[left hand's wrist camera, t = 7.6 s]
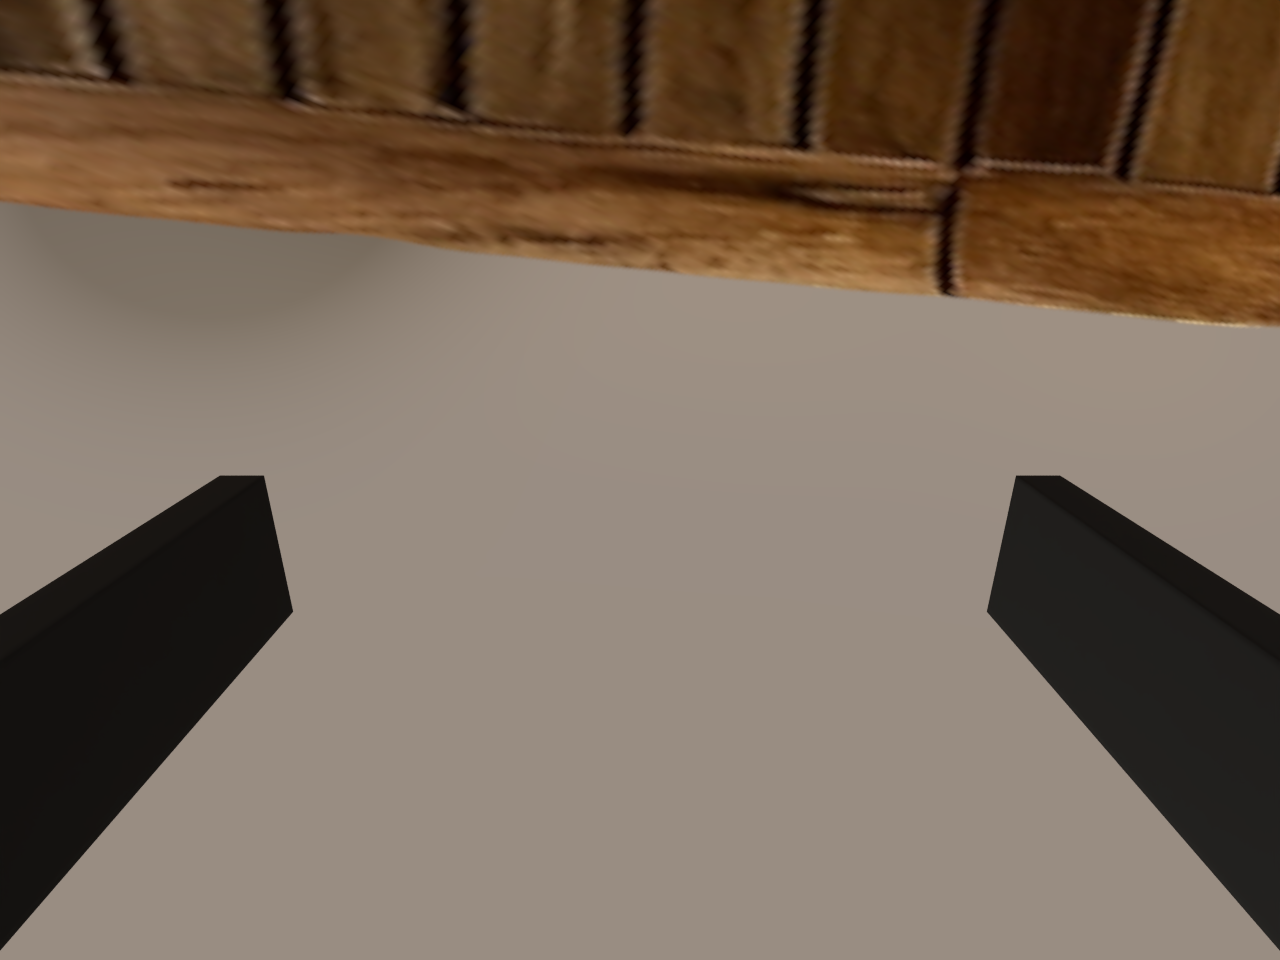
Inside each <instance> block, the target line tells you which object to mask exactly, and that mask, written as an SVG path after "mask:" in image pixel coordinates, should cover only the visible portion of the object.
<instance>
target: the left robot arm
mask: <svg viewBox="0 0 1280 960" xmlns="http://www.w3.org/2000/svg"><path fill="white" fill-rule="evenodd" d="M292 612H293V609H292V604H291V600H290V595H289V590H288V586H287V581H286V576H285V572H284V567H283V562H282V558H281V553H280V548H279V544H278V539H277V534H276V530H275V525H274V521H273V516H272V511H271V507H270V502H269V497H268V492H267V488H266V483H265V479H264V476H219V477H217V478H215V479H214V480H212V481H211V482H209V483H208V484H206V485H204V486H203V487H201V488H200V489H198V490H197V491H195V492H193V493H192V494H190V495H189V496H187V497H185V498H184V499H182V500H181V501H179V502H178V503H176V504H174V505H173V506H171V507H170V508H168V509H166V510H165V511H163V512H162V513H160V514H159V515H157V516H155V517H154V518H152V519H151V520H149V521H147V522H146V523H144V524H143V525H141V526H140V527H138V528H136V529H135V530H133V531H132V532H130V533H128V534H127V535H125V536H124V537H122V538H121V539H119V540H117V541H116V542H114V543H113V544H111V545H109V546H108V547H106V548H105V549H103V550H102V551H100V552H98V553H97V554H95V555H94V556H92V557H90V558H89V559H87V560H86V561H84V562H83V563H81V564H79V565H78V566H76V567H75V568H73V569H71V570H70V571H68V572H67V573H65V574H64V575H62V576H60V577H59V578H57V579H56V580H54V581H52V582H51V583H49V584H48V585H46V586H45V587H43V588H41V589H40V590H38V591H37V592H35V593H34V594H32V595H30V596H29V597H27V598H26V599H24V600H22V601H21V602H19V603H18V604H16V605H14V606H13V607H11V608H10V609H8V610H7V611H5V612H3V613H2V614H0V950H1V949H2V948H3V947H4V945H5V944H6V943H7V942H8V941H9V940H10V939H11V937H12V936H13V935H14V934H15V933H16V932H17V930H18V929H19V928H20V927H21V926H22V925H23V923H24V922H25V921H26V920H27V919H28V918H29V917H30V915H31V914H32V913H33V912H34V911H35V910H36V908H37V907H38V906H39V905H40V904H41V903H42V902H43V900H44V899H45V898H46V897H47V896H48V895H49V893H50V892H51V891H52V890H53V889H54V888H55V886H56V885H57V884H58V883H59V882H60V881H61V880H62V878H63V877H64V876H65V875H66V874H67V873H68V871H69V870H70V869H71V868H72V867H73V866H74V865H75V863H76V862H77V861H78V860H79V859H80V858H81V856H82V855H83V854H84V853H85V852H86V851H87V849H88V848H89V847H90V846H91V845H92V844H93V843H94V841H95V840H96V839H97V838H98V837H99V836H100V834H101V833H102V832H103V831H104V830H105V829H106V827H107V826H108V825H109V824H110V823H111V822H112V821H113V819H114V818H115V817H116V816H117V815H118V814H119V812H120V811H121V810H122V809H123V808H124V807H125V806H126V804H127V803H128V802H129V801H130V800H131V799H132V797H133V796H134V795H135V794H136V793H137V792H138V790H139V789H140V788H141V787H142V786H143V785H144V784H145V782H146V781H147V780H148V779H149V778H150V777H151V775H152V774H153V773H154V772H155V771H156V770H157V768H158V767H159V766H160V765H161V764H162V763H163V762H164V760H165V759H166V758H167V757H168V756H169V755H170V753H171V752H172V751H173V750H174V749H175V748H176V747H177V745H178V744H179V743H180V742H181V741H182V740H183V738H184V737H185V736H186V735H187V734H188V733H189V731H190V730H191V729H192V728H193V727H194V726H195V725H196V723H197V722H198V721H199V720H200V719H201V718H202V716H203V715H204V714H205V713H206V712H207V711H208V709H209V708H210V707H211V706H212V705H213V704H214V702H215V701H216V700H217V699H218V698H219V697H220V696H221V694H222V693H223V692H224V691H225V690H226V689H227V687H228V686H229V685H230V684H231V683H232V682H233V681H234V679H235V678H236V677H237V676H238V675H239V674H240V672H241V671H242V670H243V669H244V668H245V667H246V666H247V664H248V663H249V662H250V661H251V660H252V659H253V657H254V656H255V655H256V654H257V653H258V652H259V650H260V649H261V648H262V647H263V646H264V645H265V644H266V642H267V641H268V640H269V639H270V638H271V637H272V635H273V634H274V633H275V632H276V631H277V630H278V628H279V627H280V626H281V625H282V624H283V623H284V622H285V620H286V619H287V618H288V617H289V616H290V615H291V613H292ZM987 612H988V613H989V615H990V616H991V617H992V618H993V619H994V620H995V622H996V623H997V624H998V625H999V626H1000V627H1001V629H1002V630H1003V631H1004V632H1005V633H1006V634H1007V635H1008V637H1009V638H1010V639H1011V640H1012V641H1013V642H1014V644H1015V645H1016V646H1017V647H1018V648H1019V649H1020V650H1021V652H1022V653H1023V654H1024V655H1025V656H1026V657H1027V659H1028V660H1029V661H1030V662H1031V663H1032V664H1033V666H1034V667H1035V668H1036V669H1037V670H1038V671H1039V672H1040V674H1041V675H1042V676H1043V677H1044V678H1045V679H1046V681H1047V682H1048V683H1049V684H1050V685H1051V686H1052V687H1053V689H1054V690H1055V691H1056V692H1057V693H1058V694H1059V696H1060V697H1061V698H1062V699H1063V700H1064V701H1065V703H1066V704H1067V705H1068V706H1069V707H1070V708H1071V709H1072V711H1073V712H1074V713H1075V714H1076V715H1077V716H1078V718H1079V719H1080V720H1081V721H1082V722H1083V723H1084V725H1085V726H1086V727H1087V728H1088V729H1089V730H1090V731H1091V733H1092V734H1093V735H1094V736H1095V737H1096V738H1097V739H1098V741H1099V742H1100V743H1101V744H1102V745H1103V747H1104V748H1105V749H1106V750H1107V751H1108V752H1109V753H1110V755H1111V756H1112V757H1113V758H1114V759H1115V760H1116V761H1117V763H1118V764H1119V765H1120V766H1121V767H1122V768H1123V770H1124V771H1125V772H1126V773H1127V774H1128V775H1129V777H1130V778H1131V779H1132V780H1133V781H1134V782H1135V784H1136V785H1137V786H1138V787H1139V788H1140V789H1141V790H1142V792H1143V793H1144V794H1145V795H1146V796H1147V797H1148V799H1149V800H1150V801H1151V802H1152V803H1153V804H1154V805H1155V807H1156V808H1157V809H1158V810H1159V811H1160V812H1161V814H1162V815H1163V816H1164V817H1165V818H1166V819H1167V821H1168V822H1169V823H1170V824H1171V825H1172V826H1173V827H1174V829H1175V830H1176V831H1177V832H1178V833H1179V834H1180V836H1181V837H1182V838H1183V839H1184V840H1185V841H1186V843H1187V844H1188V845H1189V846H1190V847H1191V848H1192V849H1193V851H1194V852H1195V853H1196V854H1197V855H1198V856H1199V858H1200V859H1201V860H1202V861H1203V862H1204V863H1205V865H1206V866H1207V867H1208V868H1209V869H1210V870H1211V871H1212V873H1213V874H1214V875H1215V876H1216V877H1217V878H1218V880H1219V881H1220V882H1221V883H1222V884H1223V885H1224V886H1225V888H1226V889H1227V890H1228V891H1229V892H1230V893H1231V895H1232V896H1233V897H1234V898H1235V899H1236V900H1237V902H1238V903H1239V904H1240V905H1241V906H1242V907H1243V908H1244V910H1245V911H1246V912H1247V913H1248V914H1249V915H1250V917H1251V918H1252V919H1253V920H1254V921H1255V922H1256V924H1257V925H1258V926H1259V927H1260V928H1261V929H1262V930H1263V932H1264V933H1265V934H1266V935H1267V936H1268V937H1269V939H1270V940H1271V941H1272V942H1273V943H1274V944H1275V945H1276V947H1277V948H1278V949H1279V950H1280V614H1278V613H1277V612H1275V611H1273V610H1272V609H1270V608H1269V607H1267V606H1266V605H1264V604H1262V603H1261V602H1259V601H1258V600H1256V599H1254V598H1253V597H1251V596H1250V595H1248V594H1247V593H1245V592H1243V591H1242V590H1240V589H1239V588H1237V587H1235V586H1234V585H1232V584H1231V583H1229V582H1228V581H1226V580H1224V579H1223V578H1221V577H1220V576H1218V575H1216V574H1215V573H1213V572H1212V571H1210V570H1208V569H1207V568H1205V567H1204V566H1202V565H1201V564H1199V563H1197V562H1196V561H1194V560H1193V559H1191V558H1190V557H1188V556H1186V555H1185V554H1183V553H1182V552H1180V551H1178V550H1177V549H1175V548H1174V547H1172V546H1171V545H1169V544H1167V543H1166V542H1164V541H1163V540H1161V539H1159V538H1158V537H1156V536H1155V535H1153V534H1152V533H1150V532H1148V531H1147V530H1145V529H1144V528H1142V527H1140V526H1139V525H1137V524H1136V523H1134V522H1133V521H1131V520H1129V519H1128V518H1126V517H1125V516H1123V515H1121V514H1120V513H1118V512H1117V511H1115V510H1114V509H1112V508H1110V507H1109V506H1107V505H1106V504H1104V503H1102V502H1101V501H1099V500H1098V499H1096V498H1095V497H1093V496H1091V495H1090V494H1088V493H1087V492H1085V491H1083V490H1082V489H1080V488H1079V487H1077V486H1075V485H1074V484H1072V483H1071V482H1069V481H1068V480H1066V479H1064V478H1063V477H1061V476H1016V479H1015V483H1014V488H1013V492H1012V497H1011V502H1010V506H1009V511H1008V516H1007V520H1006V525H1005V530H1004V534H1003V539H1002V544H1001V549H1000V553H999V558H998V562H997V567H996V572H995V576H994V581H993V586H992V590H991V595H990V600H989V604H988V609H987Z"/></svg>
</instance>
